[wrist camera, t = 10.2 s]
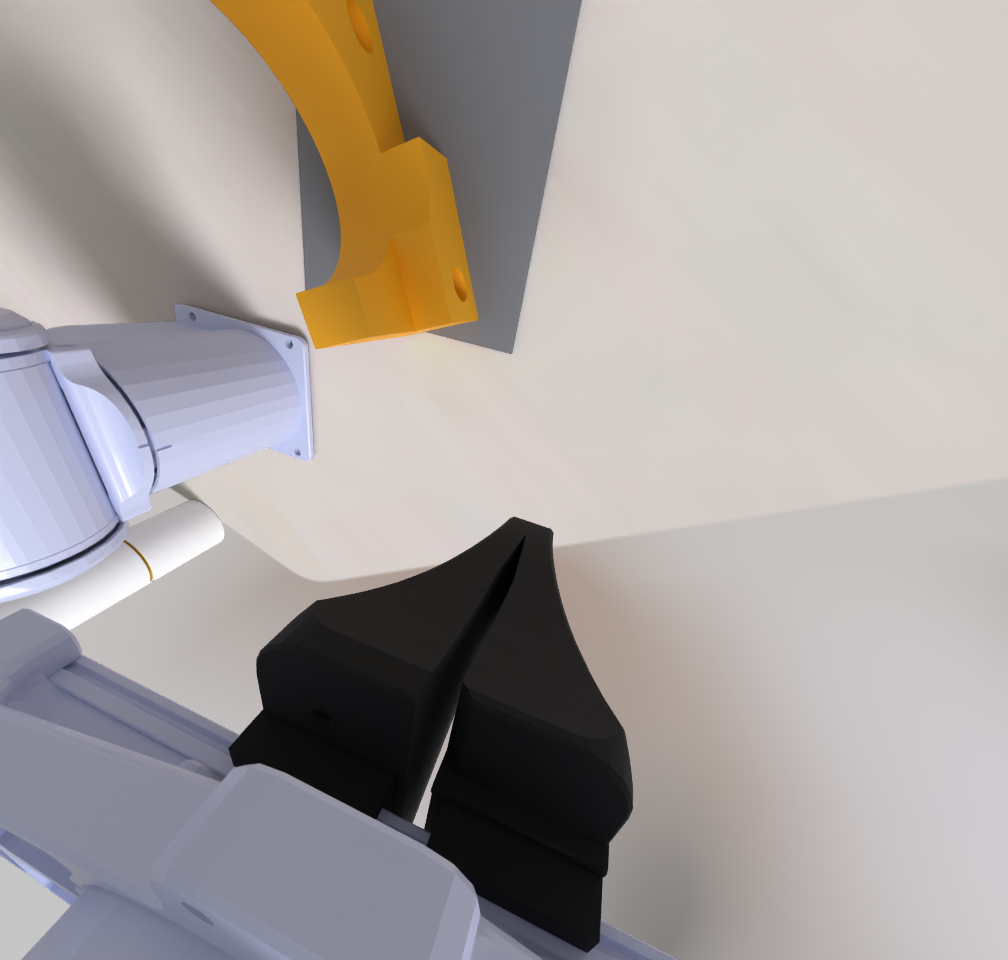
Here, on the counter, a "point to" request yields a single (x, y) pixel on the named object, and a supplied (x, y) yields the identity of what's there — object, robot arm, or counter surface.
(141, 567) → the tube
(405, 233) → the pipe clamp
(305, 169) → the mat
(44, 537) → the robot arm
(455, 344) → the counter surface
